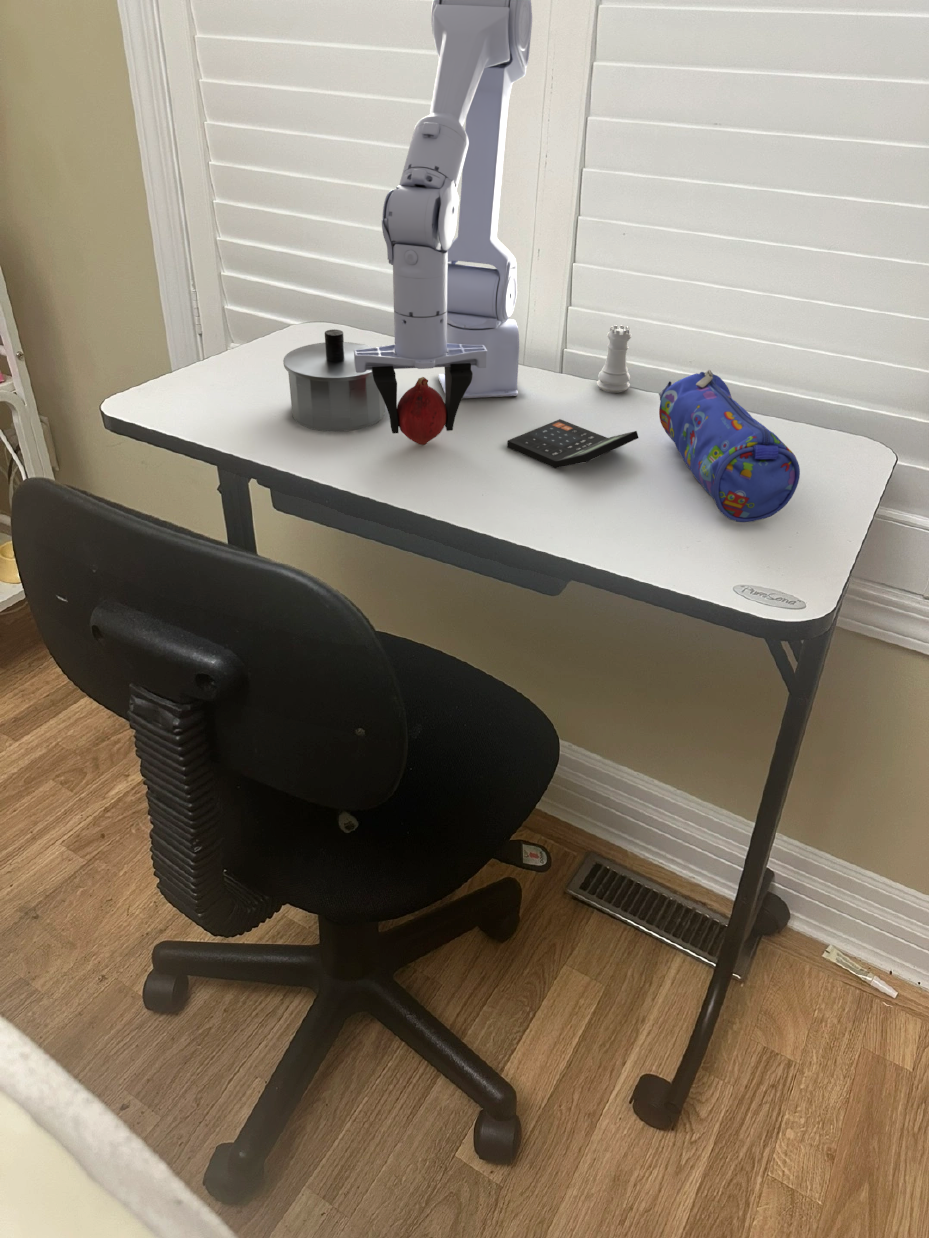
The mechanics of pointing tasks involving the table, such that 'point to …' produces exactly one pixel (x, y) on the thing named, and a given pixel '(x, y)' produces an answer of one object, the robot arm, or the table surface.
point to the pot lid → (326, 359)
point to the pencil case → (728, 448)
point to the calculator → (566, 444)
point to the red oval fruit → (421, 413)
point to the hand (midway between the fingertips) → (421, 428)
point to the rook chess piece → (616, 361)
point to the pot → (336, 403)
